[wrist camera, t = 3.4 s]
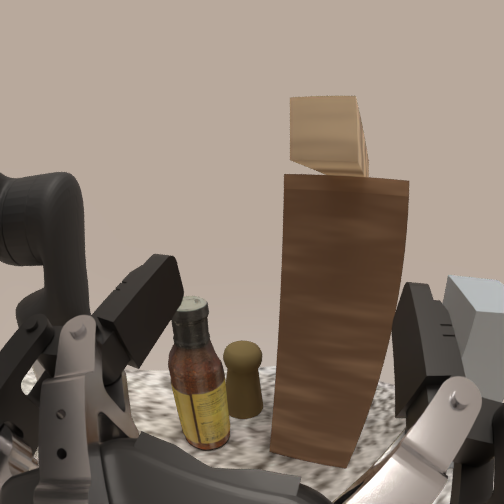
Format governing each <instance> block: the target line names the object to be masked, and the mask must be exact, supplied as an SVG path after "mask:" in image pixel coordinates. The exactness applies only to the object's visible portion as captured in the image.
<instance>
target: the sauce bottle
mask: <svg viewBox="0 0 504 504" xmlns="http://www.w3.org/2000/svg"><path fill="white" fill-rule="evenodd" d="M208 314H209V310H208V303H207V301H206V300H205V299H203V298H200V297H196V296H186V297H183V301H182V303H181V305H180V307H179V308H178V310H177V311H176V313H175V314H174V316H173V317H172V319H171V320H172V327H173V333H174V337H173V339H174V345H173V347H172V349H171V351H170V353H169V361H168V367H169V371H170V376H171V385H172V389H173V394H174V398H175V402H176V406H177V411H178V414H179V418H180V422H181V426H182V430H183V433H184V434H185V436H186V439H187V441H188V442H189V443H190V444H192V445H193V446H195V447H197V448H200V449H204V450H210V449H214V448H219V447H220V446H222V445H224V444H225V443H226V441H227V440H228V438H229V436H230V420H229V412H228V403H227V393H226V383H225V374H224V369H223V366H222V362H221V360H220V359H219V358H218V356H217V354H216V353H215V351H214V348H213V346H212V343H211V341H210V334H209V332H208V319H207V317H208Z"/></svg>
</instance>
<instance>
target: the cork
mask: <svg viewBox="0 0 504 504" xmlns="http://www.w3.org/2000/svg"><path fill="white" fill-rule="evenodd" d="M223 360H224V362H225V365H226V367H227V368H228V369H227V377H226V393H227V403H228V412H229V415H230V416H231V417H234V418H238V419H248V418H252V417H255V416H257V415H258V414H259V413H260V412H261V411H262V409H263V401H262V394H261V386H260V379H259V372H258V368H259V366H260V365H261V362H262V352H261V350H260V348H259V347H258V345H256V344H255V343H252V342H249V341H236V342H233V343H231V344H229V345H228V346H227V347H226V349H225V351H224V355H223Z"/></svg>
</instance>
